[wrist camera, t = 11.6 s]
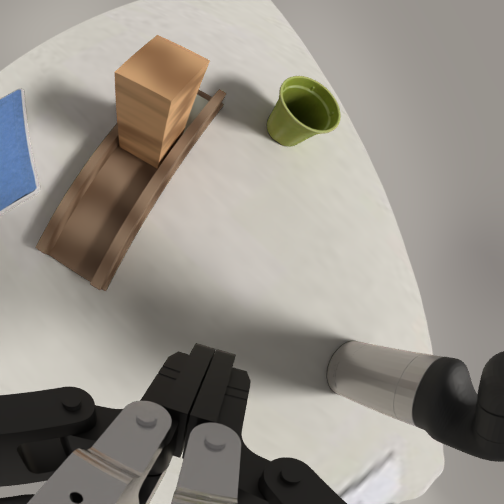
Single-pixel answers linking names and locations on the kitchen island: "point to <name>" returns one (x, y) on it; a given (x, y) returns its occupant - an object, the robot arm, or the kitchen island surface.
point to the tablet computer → (15, 154)
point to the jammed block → (156, 98)
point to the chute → (116, 200)
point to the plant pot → (302, 111)
